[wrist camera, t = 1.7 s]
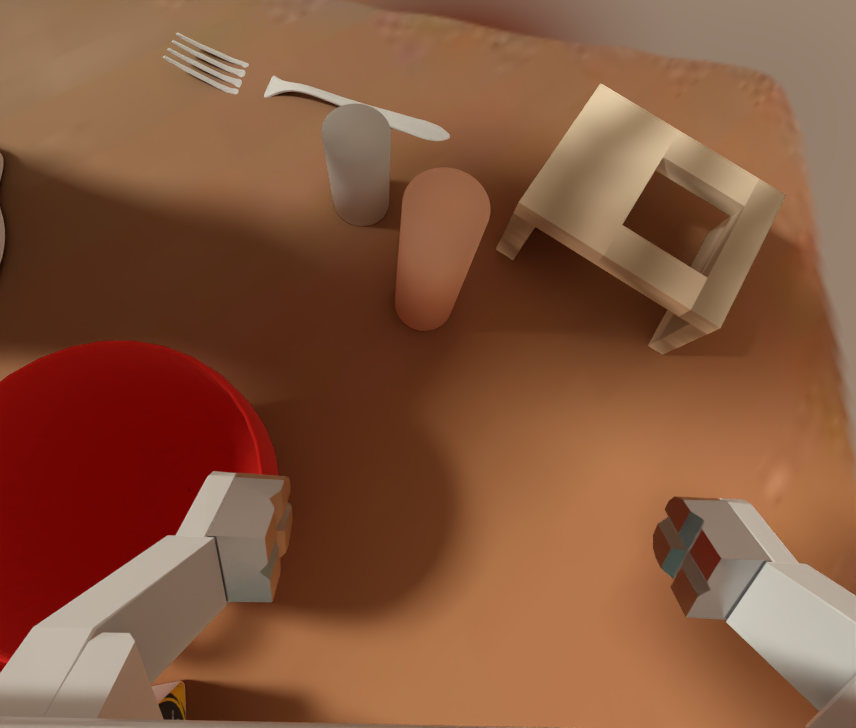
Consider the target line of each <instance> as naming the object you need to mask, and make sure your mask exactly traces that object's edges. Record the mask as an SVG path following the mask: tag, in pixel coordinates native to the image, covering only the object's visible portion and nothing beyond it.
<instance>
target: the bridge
mask: <svg viewBox="0 0 856 728" xmlns="http://www.w3.org/2000/svg"><path fill="white" fill-rule="evenodd" d="M655 170H656V171H657V172H659V173H661V174H662V175H664V176H665V177H667V178H669V179H670V180H672V181H674V182H675V183H677V184H679V185H680V186H682V187H684V188H685V189H687V190H688V191H690V192H692V193H693V194H695V195H697V196H698V197H700V198H702V199H703V200H705V201H707V202H708V203H710V204H711V205H713V206H715V207H716V208H718V209H720V210H721V211H723V212H725V213H726V214H728V215H729V217H728V218H727V219H725V220H724V221H723V222H721V223H720V224H719V225H718V226H716V227H715V228H714V229H712V230H711V231H710V232H708V234H707V236H706V238H705V240H704V242H703V244H702V245H701V247H700V249H699V251H698V253H697V255H696V257H695V259H694V260H693V262H692V264H691V266H690V267H689V266H688V265H686V264H685V263H683V262H681V261H680V260H678V259H676V258H675V257H673V256H672V255H670V254H668V253H667V252H665V251H664V250H662V249H660V248H659V247H657V246H655V245H654V244H652V243H651V242H649V241H647V240H646V239H644V238H643V237H641V236H639V235H638V234H636V233H634V232H633V231H631V230H630V229H628V228H626V227H625V226H623V225H622V224H623V223H624V221H625V219H626V218H627V216H628V214H629V213H630V211H631V209H632V208H633V206H634V204H635V203H636V201H637V199H638V198H639V196H640V194H641V193H642V191H643V189H644V188H645V186H646V185H647V183H648V181H649V180H650V178H651V176H652V175H653V173H654V171H655ZM785 197H786V195H785V194H784V193H782V192H780V191H779V190H777V189H775V188H774V187H772V186H770V185H769V184H767V183H765V182H764V181H762V180H760V179H759V178H757V177H755V176H754V175H752V174H750V173H749V172H747V171H745V170H744V169H742V168H741V167H739V166H737V165H736V164H734V163H732V162H731V161H729V160H727V159H726V158H724V157H722V156H721V155H719V154H717V153H716V152H714V151H712V150H711V149H709V148H707V147H706V146H704V145H702V144H701V143H699V142H697V141H696V140H694V139H692V138H691V137H689V136H687V135H686V134H684V133H682V132H681V131H679V130H677V129H676V128H674V127H672V126H671V125H669V124H667V123H666V122H664V121H662V120H661V119H659V118H657V117H656V116H654V115H652V114H651V113H649V112H647V111H646V110H644V109H643V108H641V107H639V106H638V105H636V104H634V103H633V102H631V101H629V100H628V99H626V98H624V97H623V96H621V95H619V94H618V93H616V92H614V91H613V90H611V89H609V88H608V87H606V86H604V85H603V84H600V85H599V87H598V88H597V89H596V91H595V92H594V94H593V95H592V97H591V98H590V100H589V101H588V102H587V104H586V105H585V107H584V108H583V110H582V111H581V113H580V114H579V115H578V117H577V118H576V120H575V121H574V123H573V124H572V126H571V127H570V128H569V130H568V131H567V133H566V134H565V136H564V137H563V139H562V140H561V142H560V143H559V144H558V146H557V147H556V149H555V150H554V152H553V153H552V155H551V156H550V157H549V159H548V160H547V162H546V163H545V165H544V166H543V168H542V169H541V170H540V172H539V173H538V175H537V176H536V178H535V179H534V181H533V182H532V183H531V185H530V186H529V188H528V189H527V191H526V192H525V194H524V195H523V196H522V198H521V199H520V201H519V202H518V204H517V206H516V208H515V211H514V213H513V215H512V217H511V219H510V221H509V223H508V225H507V227H506V229H505V231H504V233H503V235H502V237H501V239H500V241H499V243H498V245H497V247H496V250H497V251H499V252H500V253H502V254H504V255H505V256H507V257H508V258H510V259H512V260H514V258H515V257H516V255H517V254H518V252H519V251H520V249H521V248H522V246H523V245H524V243H525V242H526V240H527V239H528V237H529V236H530V234H531V233H532V231H533V230H534V228H535V227H536V228H538V229H540V230H541V231H543V232H544V233H546V234H548V235H549V236H551V237H552V238H554V239H556V240H557V241H559V242H560V243H562V244H563V245H565V246H567V247H568V248H570V249H571V250H573V251H575V252H576V253H578V254H579V255H581V256H583V257H584V258H586V259H587V260H589V261H591V262H592V263H594V264H595V265H597V266H599V267H600V268H602V269H603V270H605V271H607V272H608V273H610V274H611V275H613V276H615V277H616V278H618V279H619V280H621V281H622V282H624V283H626V284H627V285H629V286H630V287H632V288H634V289H635V290H637V291H638V292H640V293H642V294H643V295H645V296H646V297H648V298H650V299H651V300H653V301H654V302H656V303H658V304H659V305H661V306H662V307H664V308H666V309H667V311H666V313H665V314H664V316H663V318H662V320H661V322H660V324H659V326H658V327H657V329H656V331H655V333H654V335H653V337H652V339H651V340H650V342H649V344H648V346H649V347H650V348H652V349H654V350H655V351H657V352H658V353H660V354H661V355H663V354H666V353H668V352H670V351H672V350H674V349H676V348H679V347H681V346H683V345H685V344H687V343H690V342H692V341H694V340H696V339H698V338H700V337H703V336H705V335H707V334H709V333H711V332H713V331H716V330H718V329H720V328H721V326H722V324H723V322H724V320H725V318H726V316H727V314H728V312H729V310H730V308H731V306H732V304H733V302H734V300H735V298H736V296H737V294H738V292H739V290H740V288H741V286H742V284H743V282H744V280H745V278H746V276H747V274H748V271H749V269H750V267H751V265H752V263H753V261H754V259H755V257H756V255H757V253H758V251H759V249H760V247H761V245H762V243H763V241H764V239H765V237H766V235H767V233H768V231H769V229H770V227H771V225H772V223H773V221H774V219H775V217H776V215H777V213H778V211H779V209H780V207H781V205H782V203H783V201H784V199H785Z"/></svg>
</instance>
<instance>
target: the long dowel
mask: <svg viewBox="0 0 856 728" xmlns="http://www.w3.org/2000/svg"><path fill="white" fill-rule="evenodd" d="M490 211H491V209H490V201H489V198H488V195H487V193H486V191H485V189H484V188H483V186H482V185H481V184H480V183H479V182H478V181H477V180H476V179H475V178H474V177H472V176H471V175H469V174H468V173H466V172H464V171H461V170H458V169H455V168H449V167H437V168H432V169H429V170H426V171H424V172H422V173H420V174H418V175H417V176H416V177H415V178H413V179H412V180H411V182H410V183H409V184H408V186H407V187H406V190H405V192H404V195H403V200H402V212H401V226H400V239H399V252H398V265H397V278H396V291H395V309H396V312H397V315H398V316H399V318H400V319H401V321H402V322H403V323H404V324H406V325H407V326H408V327H410V328H412V329H415V330H419V331H430V330H434V329H436V328H438V327H440V326H442V325H443V324H444V323H445V322H446V321H447V320H448V318H449V316H450V314H451V312H452V309H453V307H454V304H455V302H456V299H457V297H458V294H459V292H460V290H461V287H462V285H463V282H464V280H465V277H466V275H467V272H468V270H469V268H470V265H471V263H472V260H473V258H474V255H475V253H476V251H477V248H478V246H479V243H480V241H481V238H482V236H483V233H484V231H485V229H486V226H487V224H488V221H489V218H490Z"/></svg>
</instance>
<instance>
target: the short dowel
mask: <svg viewBox="0 0 856 728" xmlns="http://www.w3.org/2000/svg"><path fill="white" fill-rule="evenodd" d="M322 139H323V145H324V151H325V156H326V162H327V168H328V174H329V180H330V186H331V192H332V198H333V204H334V208H335V210H336V212H337V214H338V215H339V216H340V217H341V218H342V219H343V220H344V221H346V222H347V223H349V224H352V225H356V226H368V225H372V224H375V223H377V222H378V221H380V220H381V219H382V218H383V217H384V216H385V214H386V213H387V211H388V208H389V190H390V155H391V129H390V125H389V123H388V121H387V119H386V118H385V117H384V116H383V115H382V114H381V113H380V112H379V111H378V110H376V109H374V108H373V107H370V106H367V105H364V104H346V105H342V106H340V107H338V108H336V109H334V110H333V111H331V112H330V113H329V114H328V116H327V117H326V118H325V120H324V122H323V125H322Z"/></svg>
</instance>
